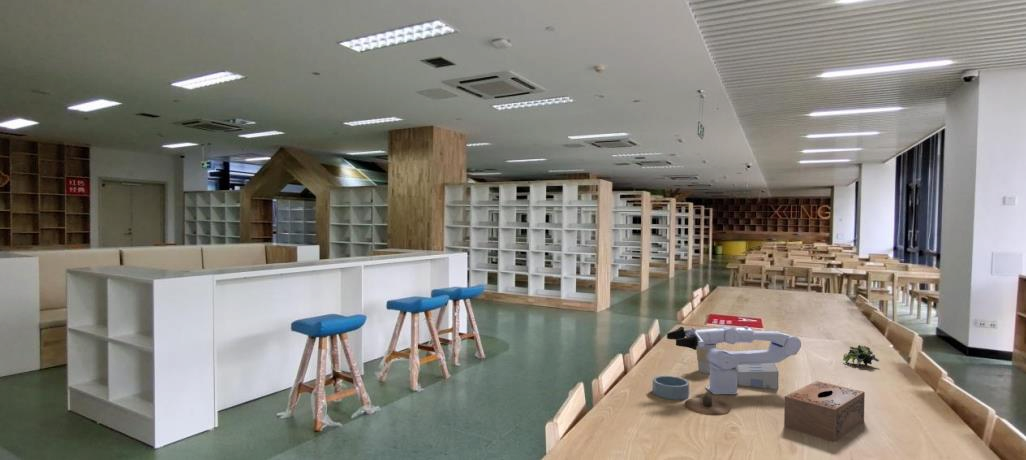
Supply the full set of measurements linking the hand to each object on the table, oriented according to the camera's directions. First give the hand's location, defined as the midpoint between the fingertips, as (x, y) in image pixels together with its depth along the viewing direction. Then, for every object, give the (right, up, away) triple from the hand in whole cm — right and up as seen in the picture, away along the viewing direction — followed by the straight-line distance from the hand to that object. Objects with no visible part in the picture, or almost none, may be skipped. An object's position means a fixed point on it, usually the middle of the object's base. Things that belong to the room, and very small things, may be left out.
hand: (671, 339), depth 191 cm
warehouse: (+42, -21, +22) cm, 52 cm away
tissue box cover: (+41, -22, -28) cm, 54 cm away
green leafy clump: (+100, -21, +40) cm, 109 cm away
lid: (+8, -21, -14) cm, 27 cm away
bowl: (0, -21, 0) cm, 21 cm away
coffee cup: (+24, -21, +29) cm, 43 cm away
